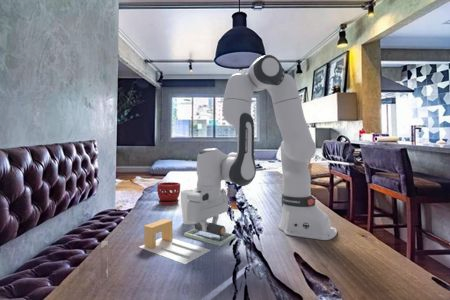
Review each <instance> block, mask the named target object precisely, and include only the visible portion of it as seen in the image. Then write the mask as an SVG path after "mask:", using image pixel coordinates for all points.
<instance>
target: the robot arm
mask: <svg viewBox="0 0 450 300" xmlns="http://www.w3.org/2000/svg"><path fill="white" fill-rule="evenodd" d="M225 86H226V87H225V90H224V94H223V102H222V117H223V118H224V120H225V121H226V123H228V124H229V125H230V126H232V127H233V128H234V130H235V131H236V135H237V138H236V141H237V143H236V156H231V155H228V154H226V153H224V152H222V151H221V150H219V148H217V147H211V148H204V149H202V150H200V151H198V154H197V158H196V175H197V182H196V187H195V188H194V189H192V190H193V191H192V192H190V193H189V194H188V195H187V199H188V200H190V201H189V202H188V204H187V220H188V221H189V222H190V223H193V224H192V225H194V224H197V223H199V222H200V224H201V226H202V231H201V232H205V233H207V232H206V231H208V226H207V225H206V223H205V222H208V221H207V220H209V219H211V218H212V221H211V222H210V223H213V224H217V225H218V220H219V217H220V216H219V215H221V214H224V213H227V212H228V210H229V199H228V195H227V190H226V189H224V188H221V187H222V181H225V182H229V183H233V184H235V185H237V186H239V187H246V186H248V185H250V184H251V183H252V182H253V180H254V179H255V176H256V173H257V167H256V162H255V122H254V118H253V116H252V102H253V101H252V100H253V95H254V93H255V94H256V93H261V92H263V91H264V90H266V91H267V92H268V93H269V95H270V97H271V101H272V107H273V110H274V115H275V120H276V124H277V126H278V129H279V132H280V135H281V138H282V141H281V143H280V158H281V169H282V194H281V207H282V211H281V218H280V222H279V225H278V229H280V230H281V231H282V232H284V234H285V235H286V236H293V237H298V238H306V239H307V238H308V239H313V240H314V239H315V240H322V241H329V240H332V239H334V238H335V237H336V236H337V233H338V232H337V228H336V227H333V226H331V219H330V218H329V215H328V214H327V213H325V212H324V211H323V210H322V209H321V208H320V207H318V206H317V205H316V201H317V197H314V196H313V195H311V178H312V176H311V174H310V170H309V169H310V168H309V160H311V159H312V158H313V157H314V156H315V154H316V150H317V146H316V143H315V141H314V139H313V137H312V134H311V130H310V128H309V125H308V124H307V121H306V118H305V114H304V110H303V109H304V108H303V106H302V102H301V101H302V100H301V96H300V93H299V89H298V87H297V84H296V81H295V79H294V77H293V76H292V75H291V74H289V73H286V71H285V69H284V67H283V66H282V64H281V61H279V59H278V58H277V57H276V56H274V55H272V54H266V55H262V56H260V57H259V58H257V59H256V60H254V62H252V64H251V65H250V66H249V68H248V69H246V71H245V72H244V73H234V74H232V75H231V76H230V77H229V78H228V80H227V83H226V85H225Z"/></svg>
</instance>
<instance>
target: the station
mask: <svg viewBox="0 0 450 300" xmlns="http://www.w3.org/2000/svg"><path fill="white" fill-rule="evenodd" d="M138 248H140V249H143V250H145V251H148V252H151V253H154V254H156V255H159V256H161V257H165V258H167V259H170V260H172V261H175V262H177V263H180V264H183V265H187V264H189V263H191V262H192V261H194V260H196V259H198V258H200V257H201V256H203V255H205V254H207V253H208V252H210V251H212V250H211V249H209V248H206V247H202V246H199V245H196V244H192V243H189V242H187V241H183V240H179V239H176V238H173V240H171V241H167V240H164V239H162V237H160V238H158V239H157V238H156V247H155V248H149V247H146V246H144V244H143V245H139V246H138Z"/></svg>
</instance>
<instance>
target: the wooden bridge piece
mask: <svg viewBox="0 0 450 300" xmlns="http://www.w3.org/2000/svg"><path fill="white" fill-rule="evenodd" d="M173 231H174V230H173V220H171V219H168V218H163V219H160V220H156V221H155V222H154V221H153V222H151V223H148V224H145V225H143V234H144V235H143V240H144V242H143V243H144V244H143V245H144V246H146V247H149V248H155V247H156V240H157V237H156V236H157V235H156V234H159V233H161V238H162V239H164V240H167V241H171V240H173V239H174V238H173V237H174V236H173V235H174V234H173Z"/></svg>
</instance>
